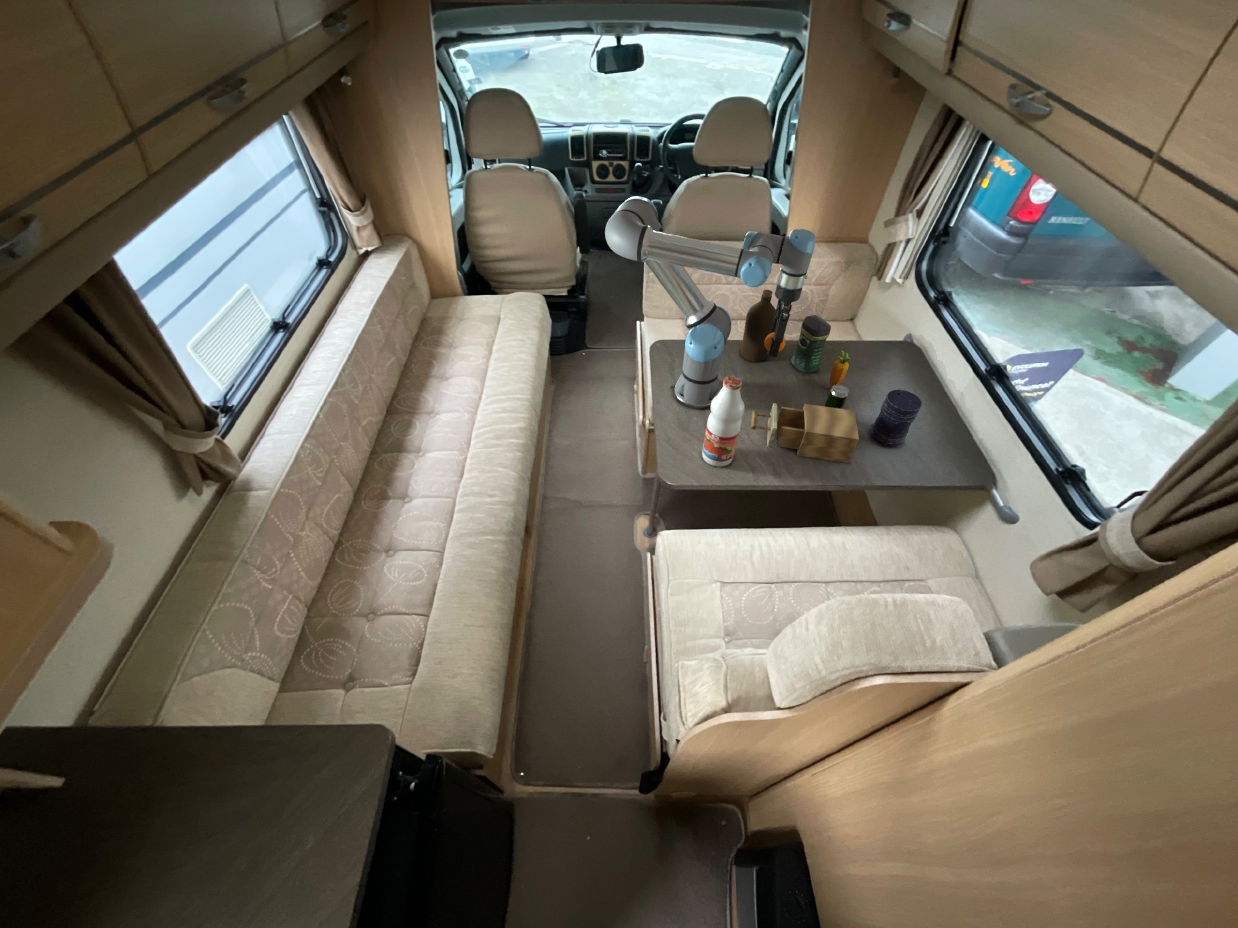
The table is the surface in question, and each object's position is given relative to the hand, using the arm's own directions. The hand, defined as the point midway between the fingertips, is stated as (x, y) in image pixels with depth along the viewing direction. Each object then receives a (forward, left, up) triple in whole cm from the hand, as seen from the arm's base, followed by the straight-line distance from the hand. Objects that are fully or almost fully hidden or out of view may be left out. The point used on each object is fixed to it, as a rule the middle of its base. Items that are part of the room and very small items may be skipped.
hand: (772, 350), depth 181 cm
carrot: (+23, +2, -14) cm, 27 cm away
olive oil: (-4, +17, -14) cm, 22 cm away
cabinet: (+18, -27, -14) cm, 35 cm away
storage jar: (+38, -19, -14) cm, 45 cm away
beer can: (+21, -14, -14) cm, 29 cm away
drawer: (+5, -27, -13) cm, 30 cm away
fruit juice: (-13, -39, -14) cm, 43 cm away
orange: (0, 0, +3) cm, 3 cm away
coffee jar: (+14, +14, -14) cm, 24 cm away
